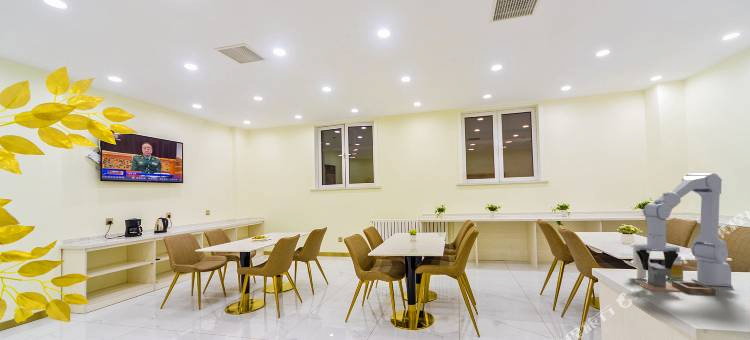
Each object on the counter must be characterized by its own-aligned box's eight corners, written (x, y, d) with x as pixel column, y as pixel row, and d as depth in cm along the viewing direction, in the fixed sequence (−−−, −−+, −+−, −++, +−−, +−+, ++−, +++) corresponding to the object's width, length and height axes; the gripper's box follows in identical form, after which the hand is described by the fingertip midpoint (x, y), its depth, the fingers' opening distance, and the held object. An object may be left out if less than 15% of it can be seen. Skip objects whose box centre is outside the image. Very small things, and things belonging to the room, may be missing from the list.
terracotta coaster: (663, 283, 140) (663, 282, 140) (680, 291, 131) (680, 290, 131) (635, 282, 142) (635, 280, 142) (649, 290, 132) (649, 288, 132)
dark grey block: (670, 289, 132) (670, 269, 132) (657, 288, 132) (657, 268, 133) (656, 282, 140) (656, 263, 141) (643, 281, 141) (643, 262, 141)
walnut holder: (698, 287, 136) (698, 282, 136) (716, 295, 127) (716, 289, 127) (671, 286, 138) (671, 280, 138) (687, 293, 129) (687, 287, 129)
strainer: (643, 281, 144) (642, 244, 144) (626, 276, 151) (626, 241, 151) (656, 280, 145) (656, 243, 146) (640, 275, 152) (639, 240, 153)
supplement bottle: (686, 281, 144) (686, 257, 145) (671, 280, 146) (670, 256, 146) (677, 277, 150) (677, 254, 150) (663, 276, 151) (663, 253, 151)
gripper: (671, 233, 139) (671, 268, 139) (630, 232, 142) (630, 266, 142) (683, 236, 132) (683, 273, 132) (639, 235, 135) (639, 271, 135)
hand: (656, 270), depth 137 cm, fingers open, 7 cm apart
